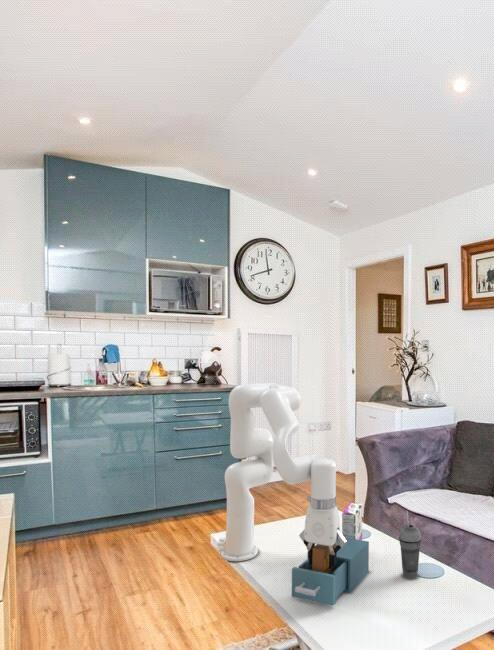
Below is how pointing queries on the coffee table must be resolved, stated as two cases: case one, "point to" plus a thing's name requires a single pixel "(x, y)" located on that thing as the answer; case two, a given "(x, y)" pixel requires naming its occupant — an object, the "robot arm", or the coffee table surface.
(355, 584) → the cabinet
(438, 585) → the coffee table surface
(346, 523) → the candy bar box
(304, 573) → the drawer
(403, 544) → the beverage cup
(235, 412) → the robot arm
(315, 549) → the brown rectangular box
